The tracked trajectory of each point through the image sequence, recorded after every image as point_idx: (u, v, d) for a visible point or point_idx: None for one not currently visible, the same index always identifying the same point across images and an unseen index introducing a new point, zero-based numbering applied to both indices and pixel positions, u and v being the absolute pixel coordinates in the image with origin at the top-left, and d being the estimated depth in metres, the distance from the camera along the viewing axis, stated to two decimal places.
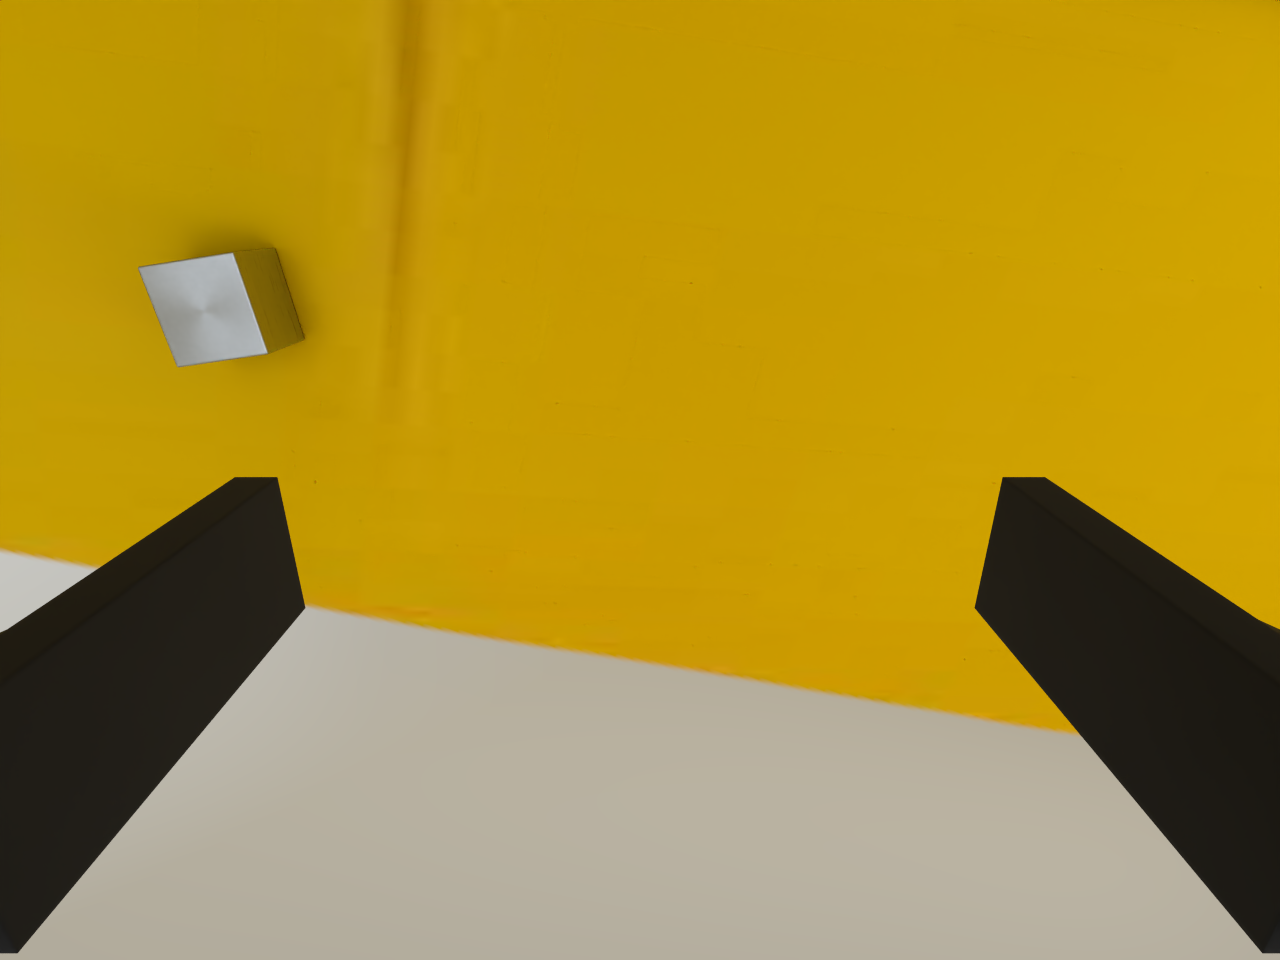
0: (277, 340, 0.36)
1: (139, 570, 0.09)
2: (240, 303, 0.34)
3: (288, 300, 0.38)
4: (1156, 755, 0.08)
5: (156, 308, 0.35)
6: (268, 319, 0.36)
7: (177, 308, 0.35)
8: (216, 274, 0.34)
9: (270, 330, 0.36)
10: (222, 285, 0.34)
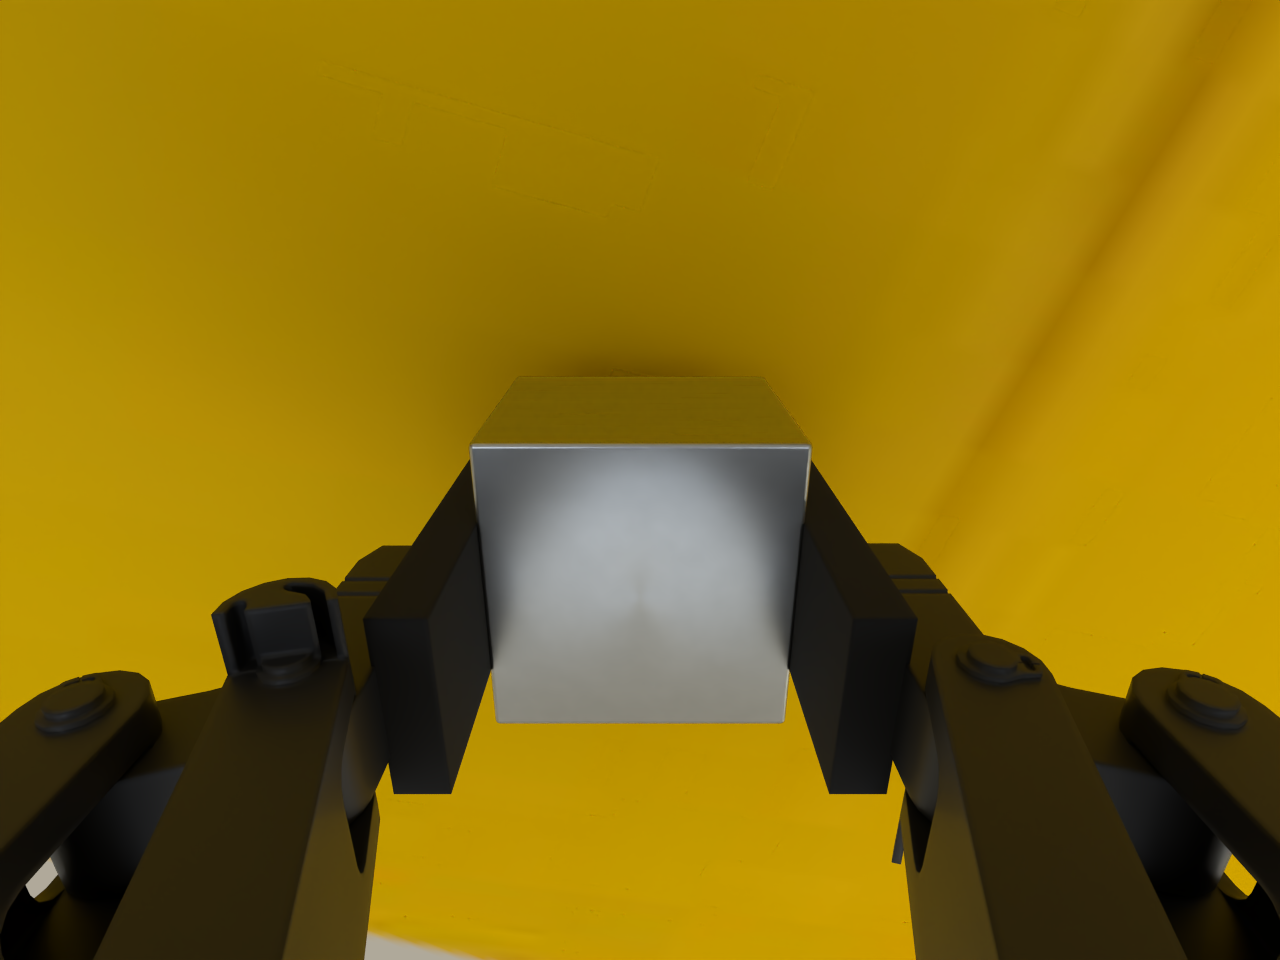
0: None
1: (473, 506, 0.11)
2: (766, 589, 0.11)
3: None
4: (803, 654, 0.10)
5: (489, 570, 0.11)
6: None
7: (558, 577, 0.11)
8: (727, 501, 0.10)
9: None
10: (732, 535, 0.10)
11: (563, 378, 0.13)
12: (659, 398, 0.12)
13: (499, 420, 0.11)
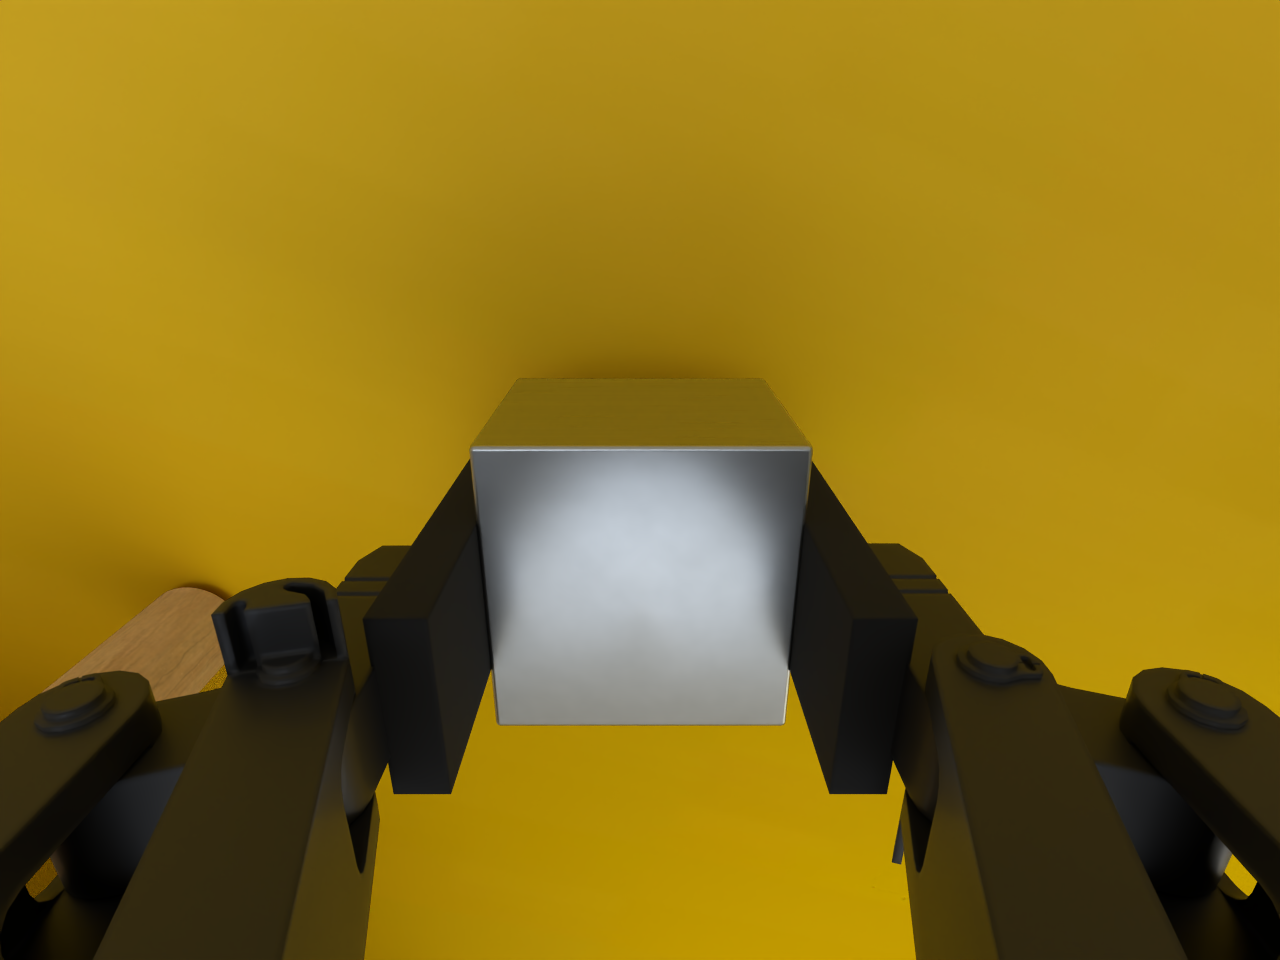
0: None
1: (473, 507, 0.11)
2: (767, 591, 0.11)
3: None
4: (803, 654, 0.10)
5: (490, 572, 0.11)
6: None
7: (558, 580, 0.11)
8: (727, 504, 0.10)
9: None
10: (732, 537, 0.10)
11: (563, 380, 0.13)
12: (659, 400, 0.12)
13: (499, 422, 0.11)
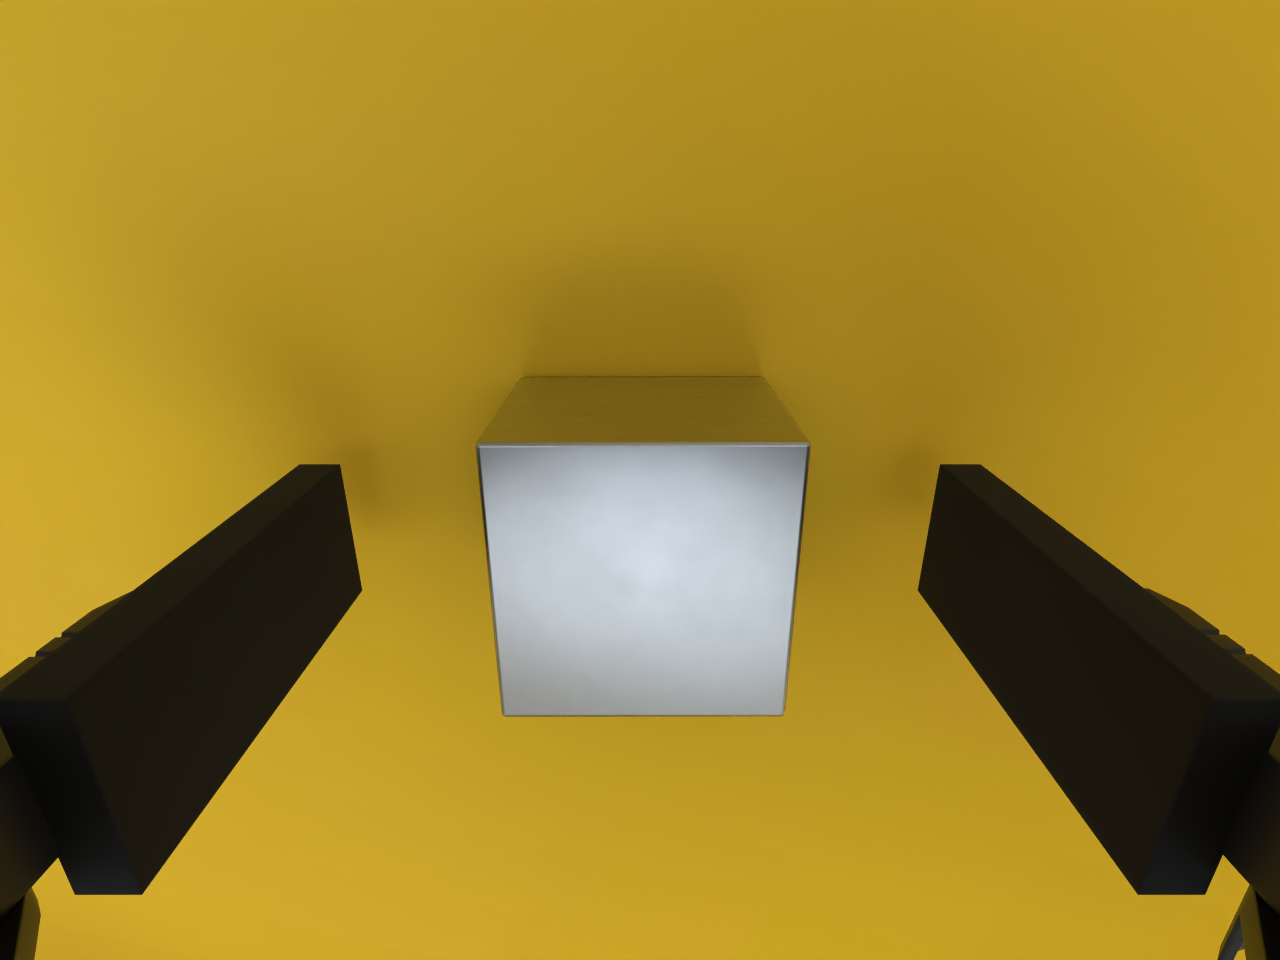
0: None
1: (230, 548, 0.10)
2: (766, 585, 0.11)
3: None
4: (1059, 719, 0.09)
5: (496, 566, 0.11)
6: None
7: (563, 573, 0.11)
8: (727, 499, 0.10)
9: None
10: (733, 531, 0.11)
11: (566, 378, 0.14)
12: (661, 398, 0.12)
13: (505, 420, 0.11)
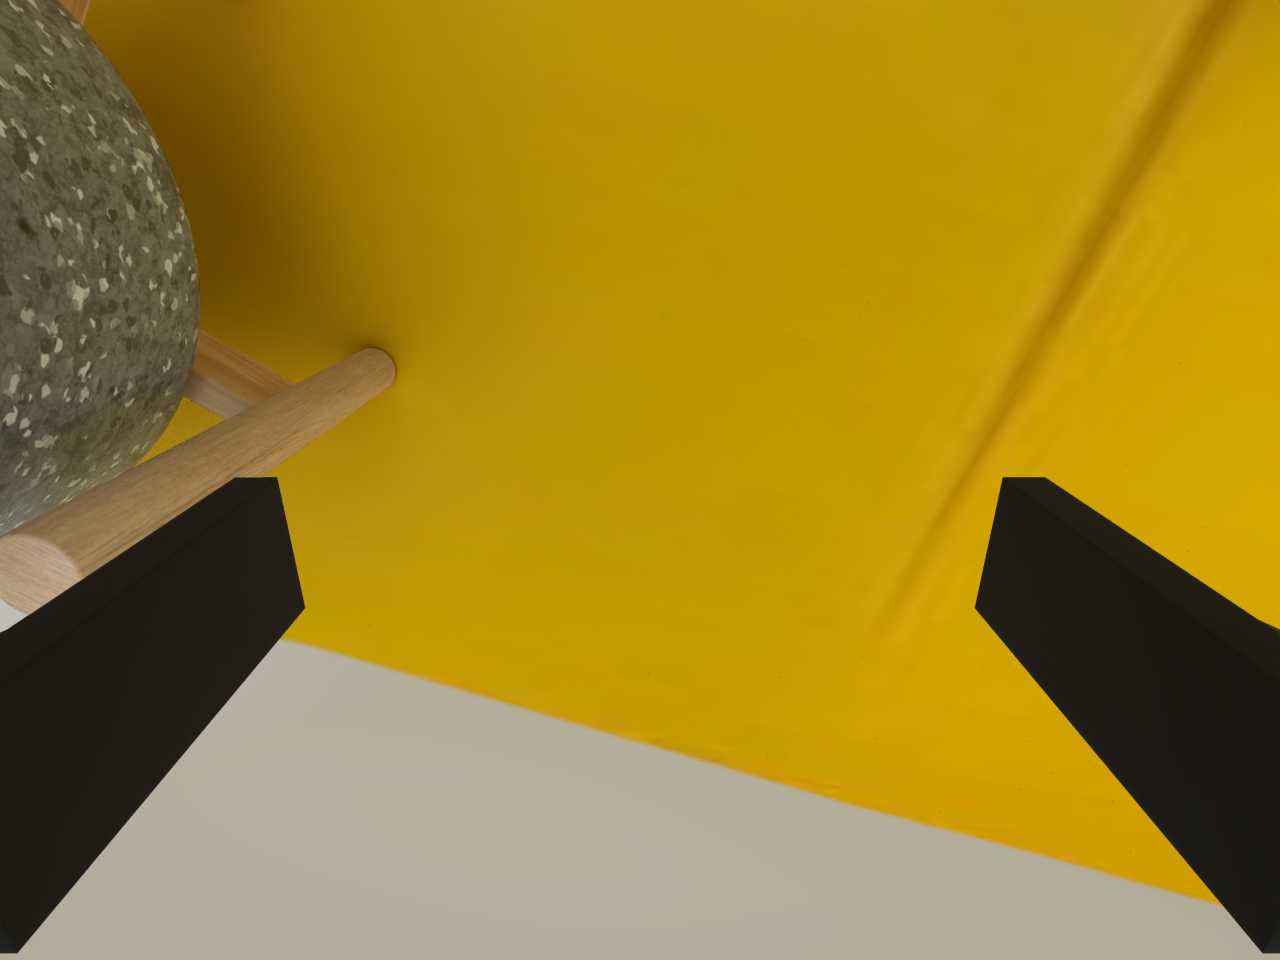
0: None
1: (139, 570, 0.09)
2: None
3: None
4: (1156, 755, 0.08)
5: None
6: None
7: None
8: None
9: None
10: None
11: None
12: None
13: None
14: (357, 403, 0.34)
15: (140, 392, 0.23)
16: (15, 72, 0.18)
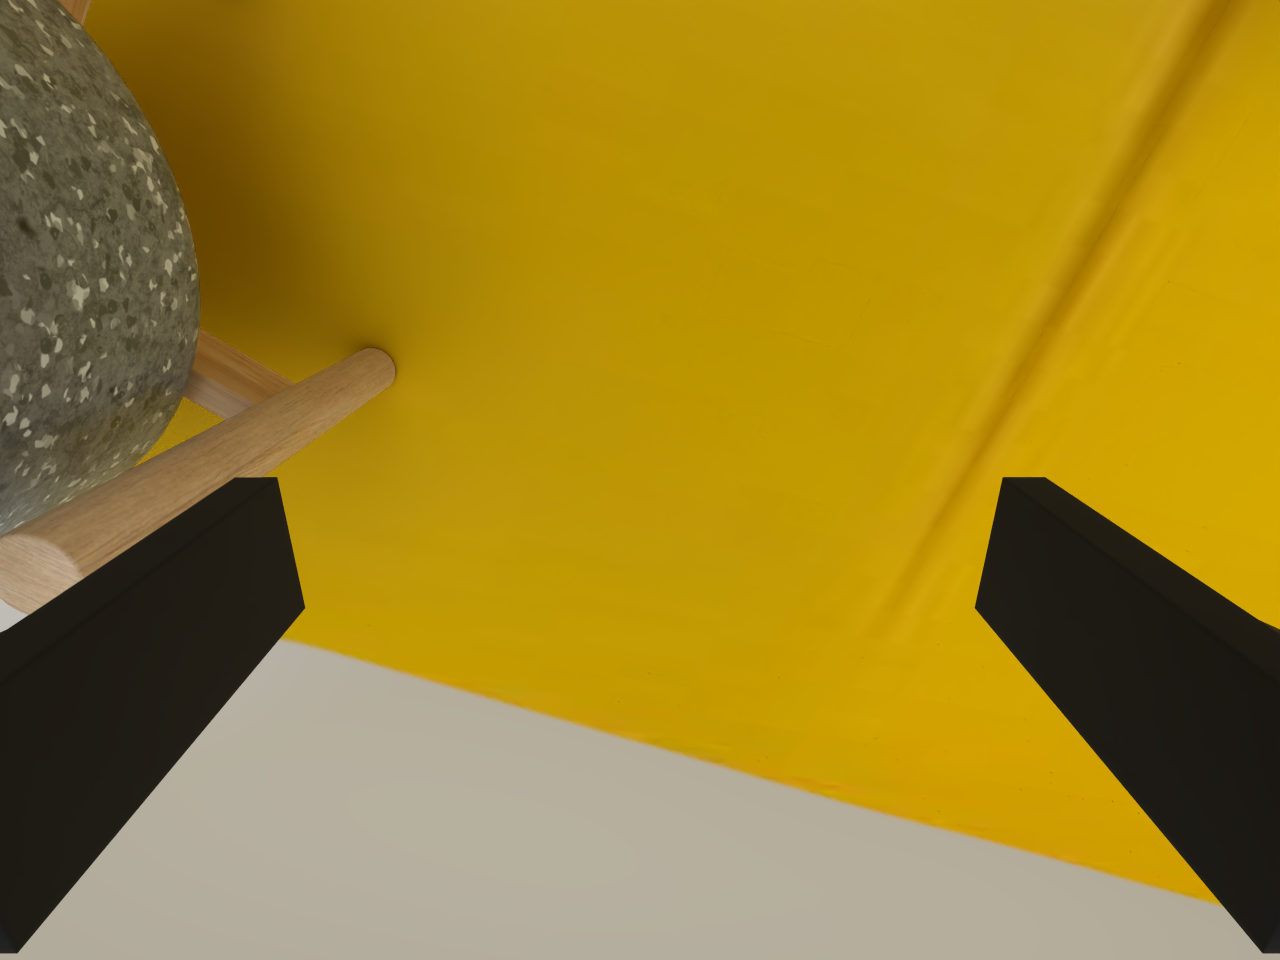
0: None
1: (139, 570, 0.09)
2: None
3: None
4: (1156, 755, 0.08)
5: None
6: None
7: None
8: None
9: None
10: None
11: None
12: None
13: None
14: (357, 403, 0.34)
15: (140, 392, 0.23)
16: (15, 72, 0.18)
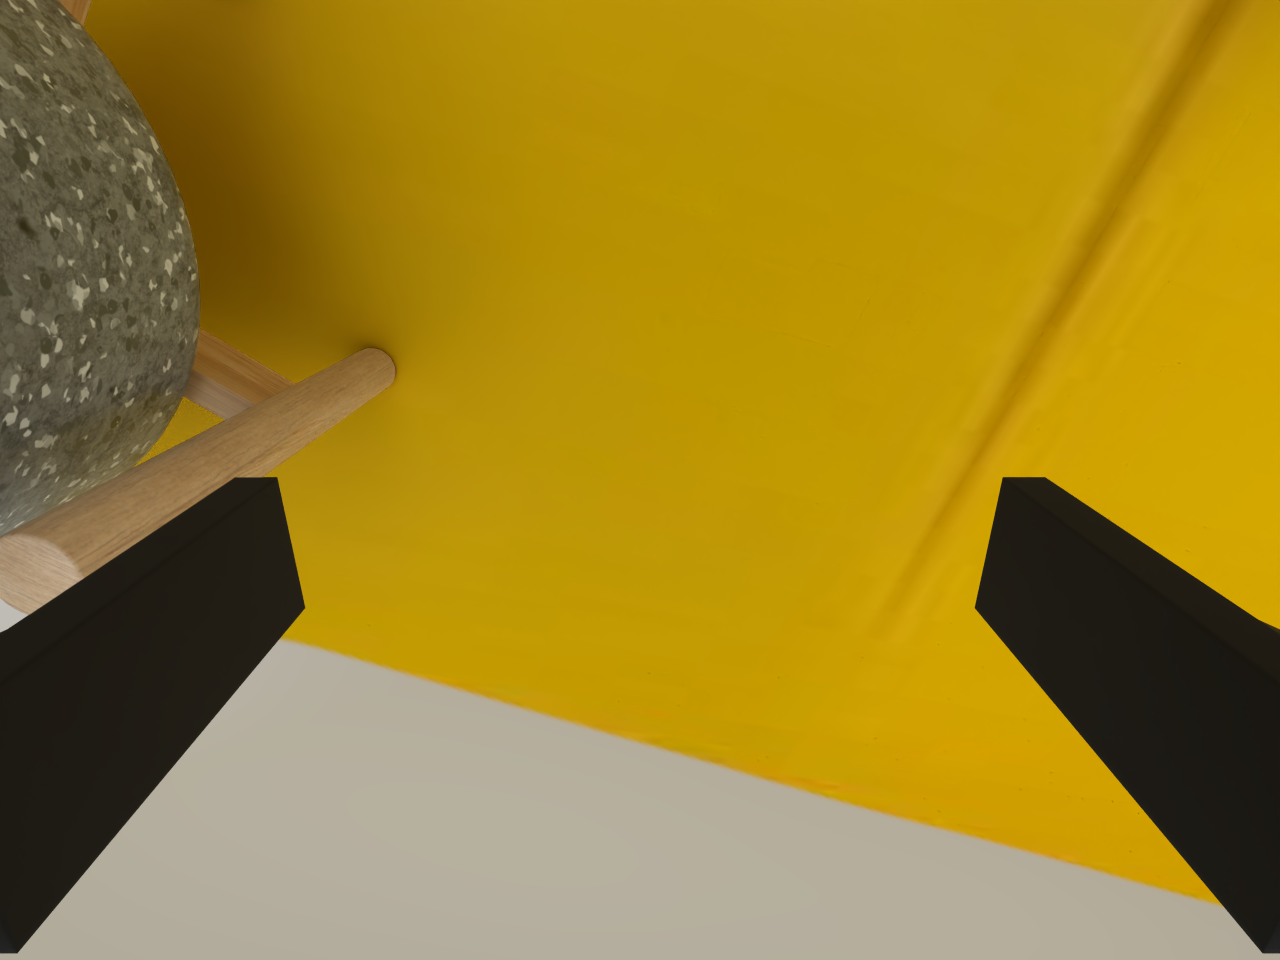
0: None
1: (139, 570, 0.09)
2: None
3: None
4: (1156, 755, 0.08)
5: None
6: None
7: None
8: None
9: None
10: None
11: None
12: None
13: None
14: (357, 403, 0.34)
15: (140, 392, 0.23)
16: (15, 72, 0.18)
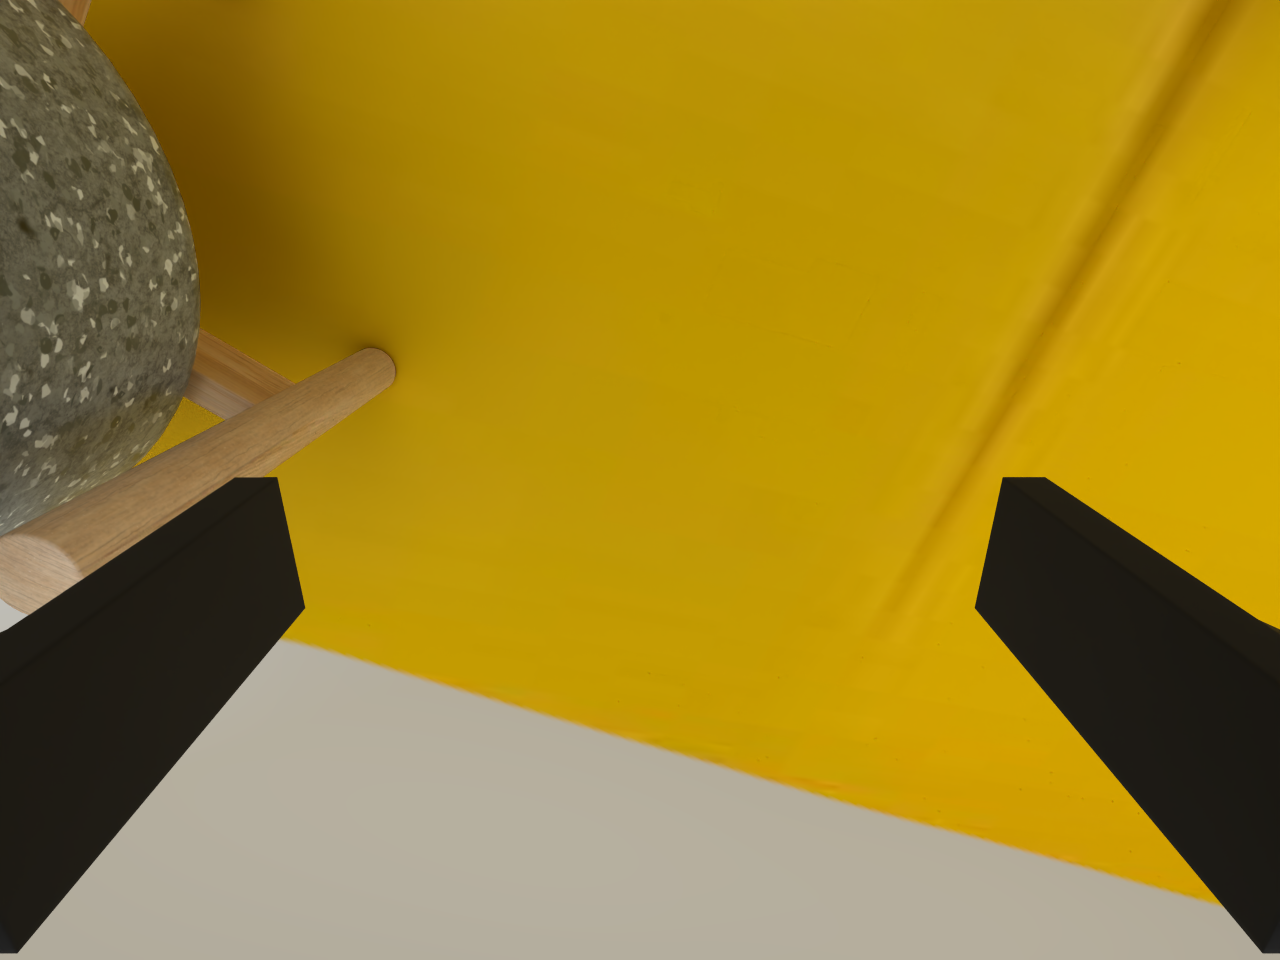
0: None
1: (139, 570, 0.09)
2: None
3: None
4: (1156, 755, 0.08)
5: None
6: None
7: None
8: None
9: None
10: None
11: None
12: None
13: None
14: (357, 403, 0.34)
15: (140, 392, 0.23)
16: (15, 72, 0.18)
